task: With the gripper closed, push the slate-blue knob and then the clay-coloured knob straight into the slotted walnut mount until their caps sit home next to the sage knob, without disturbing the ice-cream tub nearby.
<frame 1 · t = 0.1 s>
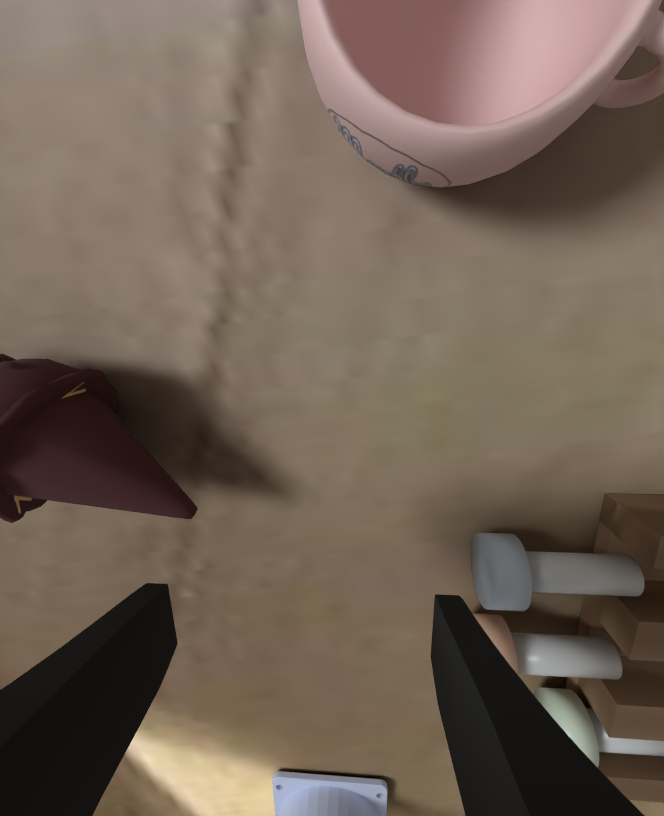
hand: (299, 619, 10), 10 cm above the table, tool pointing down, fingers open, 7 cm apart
knob slate: (554, 572, 17), point 2 cm above the table, slide at 0.0 cm
knob sage: (613, 730, 20), point 2 cm above the table, slide at 4.5 cm
mug: (461, 83, 15), on the table
mount: (630, 622, 21), on the table
knob clay: (540, 653, 19), point 2 cm above the table, slide at 0.0 cm
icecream: (100, 413, 20), on the table
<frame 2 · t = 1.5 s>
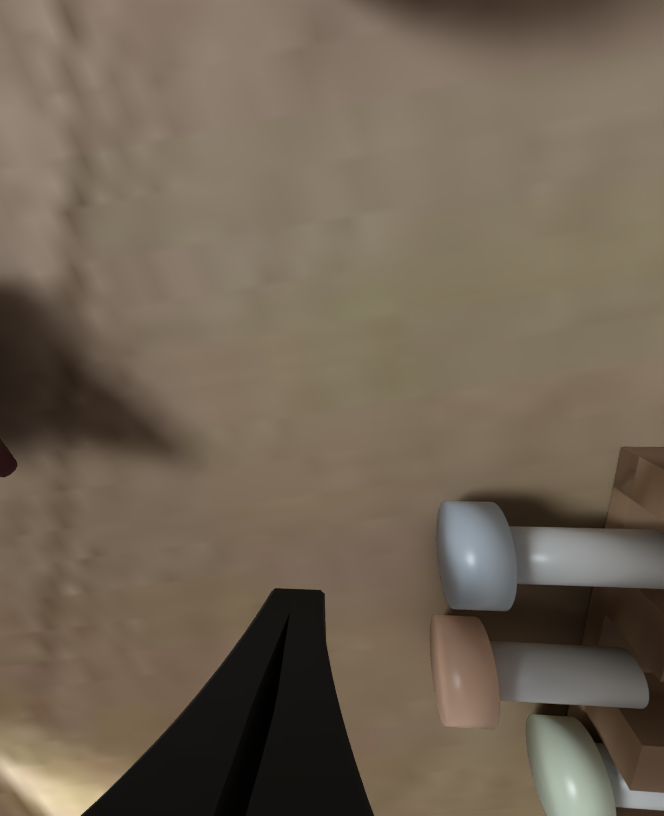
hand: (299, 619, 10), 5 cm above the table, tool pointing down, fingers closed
knob slate: (550, 555, 12), point 2 cm above the table, slide at 0.0 cm
knob sage: (634, 775, 14), point 2 cm above the table, slide at 4.5 cm
mount: (654, 626, 15), on the table
knob clay: (532, 671, 13), point 2 cm above the table, slide at 0.0 cm
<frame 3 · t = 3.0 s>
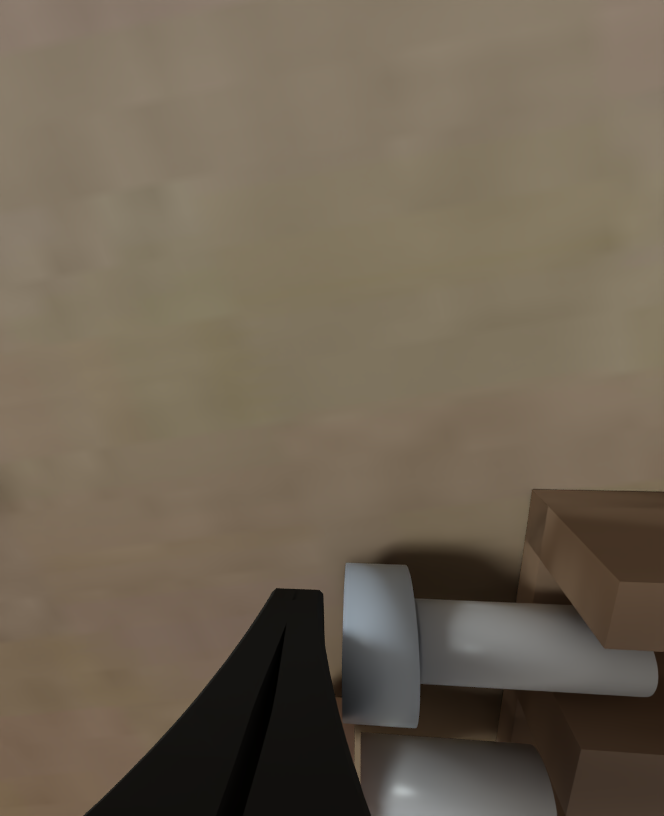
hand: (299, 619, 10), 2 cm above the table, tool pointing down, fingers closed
knob slate: (482, 642, 9), point 2 cm above the table, slide at 1.4 cm, touching gripper
mount: (586, 706, 12), on the table
knob clay: (416, 778, 10), point 2 cm above the table, slide at 0.0 cm
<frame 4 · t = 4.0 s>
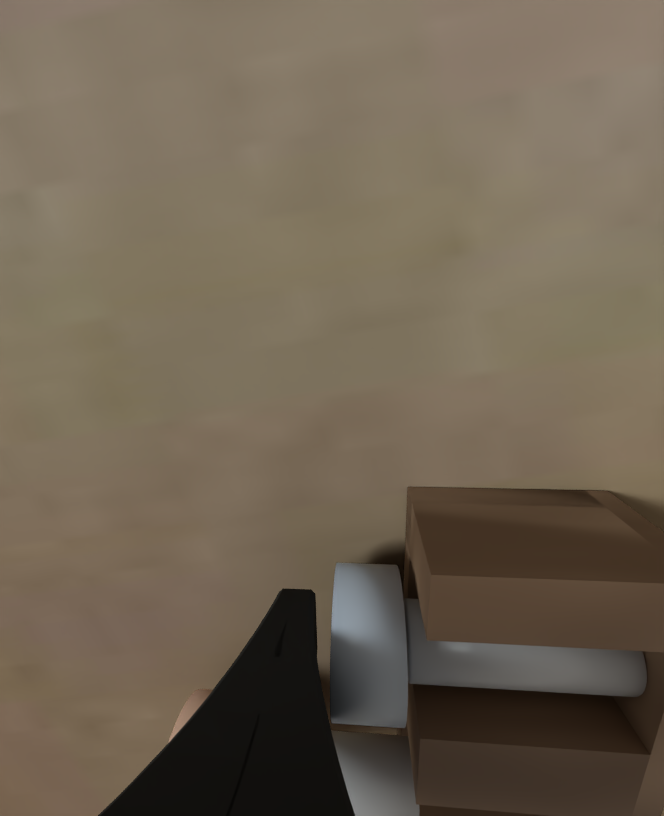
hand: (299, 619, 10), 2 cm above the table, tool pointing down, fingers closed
knob slate: (472, 642, 9), point 2 cm above the table, slide at 4.6 cm, touching gripper
mount: (480, 700, 12), on the table
knob clay: (296, 769, 11), point 2 cm above the table, slide at 0.0 cm
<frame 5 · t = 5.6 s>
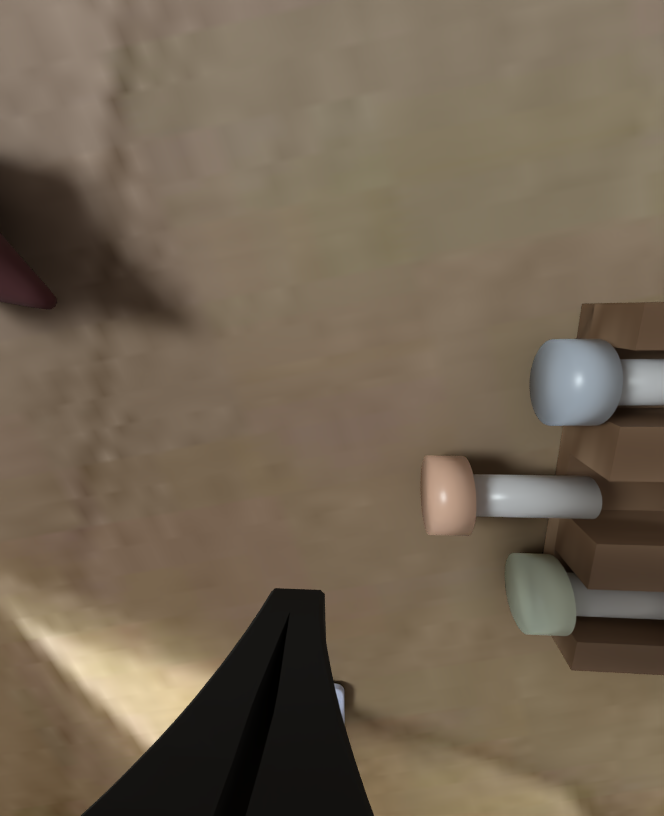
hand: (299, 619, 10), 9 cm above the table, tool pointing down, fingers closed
knob slate: (640, 382, 14), point 2 cm above the table, slide at 4.5 cm
knob sage: (595, 594, 17), point 2 cm above the table, slide at 4.5 cm
mount: (614, 474, 18), on the table
knob clay: (506, 495, 16), point 2 cm above the table, slide at 0.0 cm
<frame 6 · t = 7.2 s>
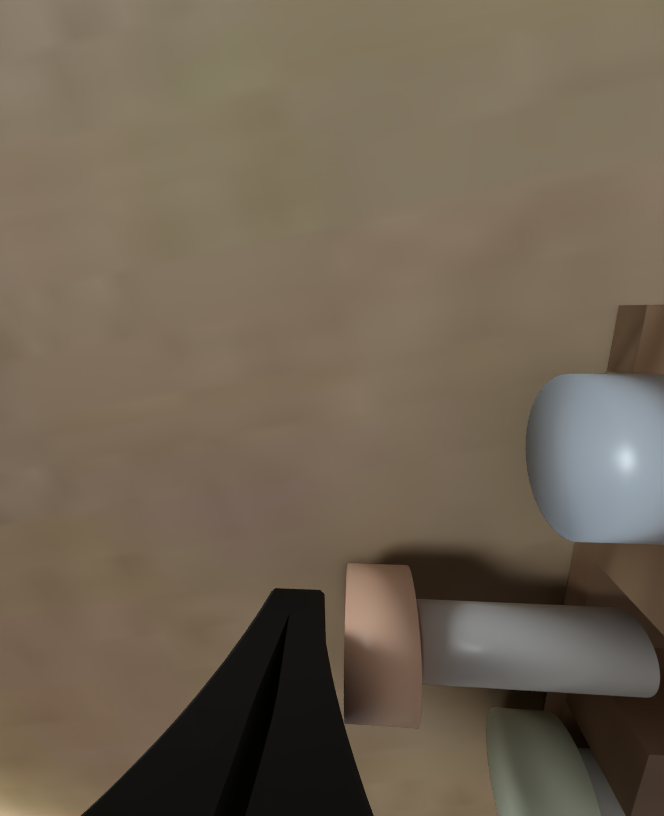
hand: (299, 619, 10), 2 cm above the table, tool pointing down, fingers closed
knob sage: (634, 795, 10), point 2 cm above the table, slide at 4.5 cm
knob clay: (484, 642, 9), point 2 cm above the table, slide at 0.0 cm, touching gripper
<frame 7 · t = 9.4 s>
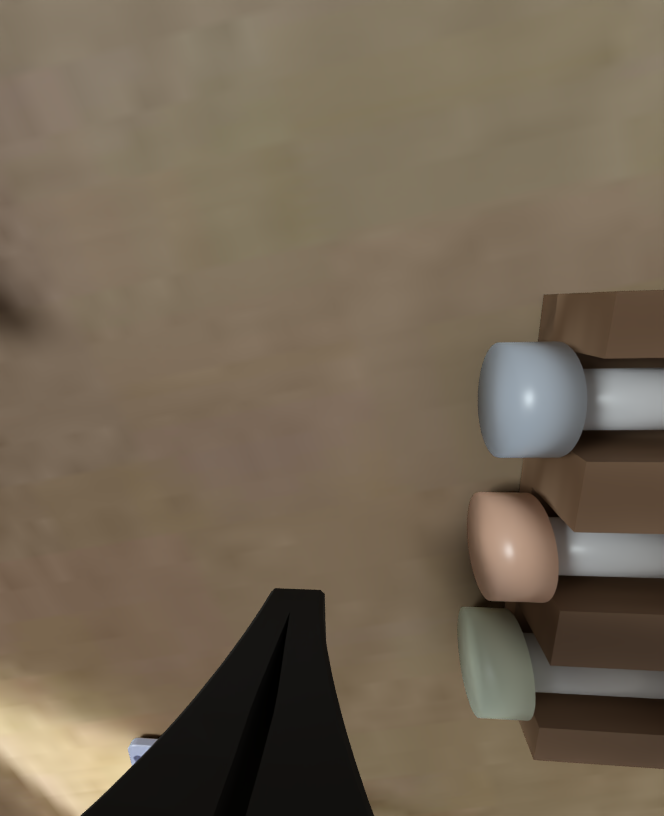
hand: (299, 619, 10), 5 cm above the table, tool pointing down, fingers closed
knob slate: (616, 399, 11), point 2 cm above the table, slide at 4.5 cm
knob sage: (564, 662, 13), point 2 cm above the table, slide at 4.5 cm
mount: (590, 509, 14), on the table
knob clay: (588, 546, 12), point 2 cm above the table, slide at 4.5 cm
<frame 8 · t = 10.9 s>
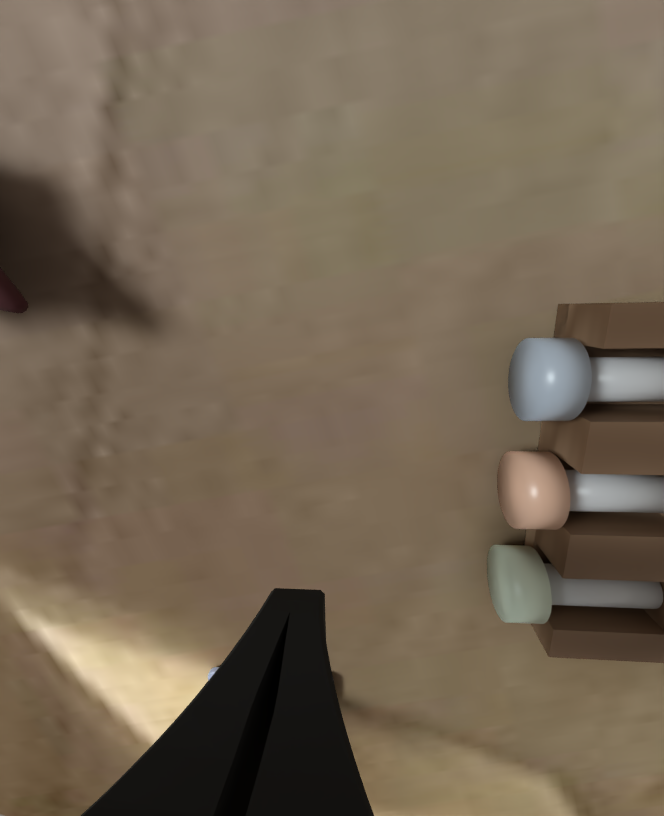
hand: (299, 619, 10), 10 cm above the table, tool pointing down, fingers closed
knob slate: (611, 379, 15), point 2 cm above the table, slide at 4.5 cm
knob sage: (572, 584, 17), point 2 cm above the table, slide at 4.5 cm
mount: (592, 468, 18), on the table
knob clay: (590, 490, 16), point 2 cm above the table, slide at 4.5 cm
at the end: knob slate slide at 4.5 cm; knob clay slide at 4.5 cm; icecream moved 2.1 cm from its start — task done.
